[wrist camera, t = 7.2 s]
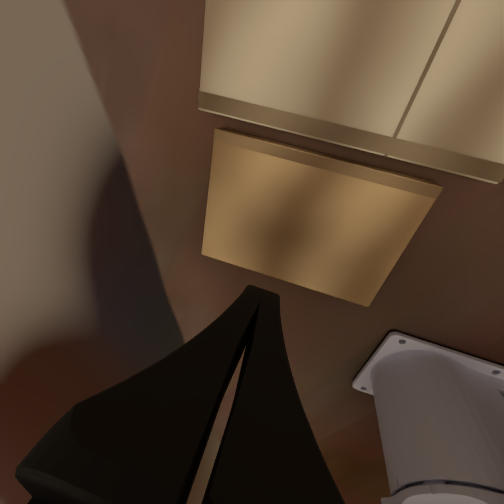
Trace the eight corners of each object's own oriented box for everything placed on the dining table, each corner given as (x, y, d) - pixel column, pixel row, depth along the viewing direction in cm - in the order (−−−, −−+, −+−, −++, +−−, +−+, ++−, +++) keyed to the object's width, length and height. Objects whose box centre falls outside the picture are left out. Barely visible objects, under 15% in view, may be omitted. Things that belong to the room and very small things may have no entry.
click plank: (434, 181, 14) (443, 187, 13) (365, 296, 19) (368, 307, 18) (222, 127, 16) (214, 128, 14) (207, 247, 20) (201, 254, 19)
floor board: (627, -33, 9) (679, -58, 8) (480, 177, 14) (498, 185, 12) (227, -95, 11) (213, -124, 10) (208, 109, 15) (197, 109, 14)
